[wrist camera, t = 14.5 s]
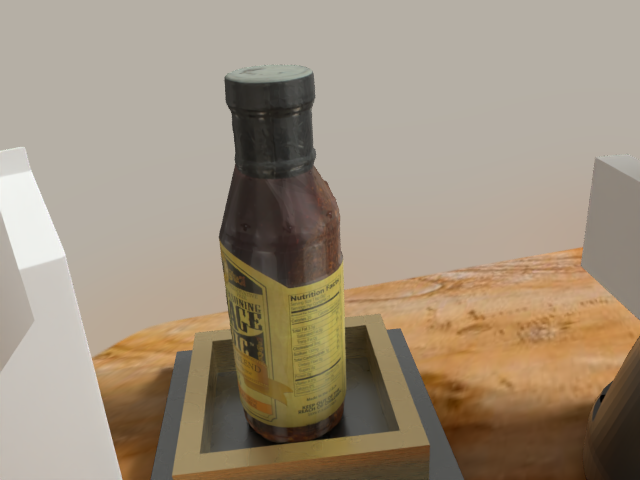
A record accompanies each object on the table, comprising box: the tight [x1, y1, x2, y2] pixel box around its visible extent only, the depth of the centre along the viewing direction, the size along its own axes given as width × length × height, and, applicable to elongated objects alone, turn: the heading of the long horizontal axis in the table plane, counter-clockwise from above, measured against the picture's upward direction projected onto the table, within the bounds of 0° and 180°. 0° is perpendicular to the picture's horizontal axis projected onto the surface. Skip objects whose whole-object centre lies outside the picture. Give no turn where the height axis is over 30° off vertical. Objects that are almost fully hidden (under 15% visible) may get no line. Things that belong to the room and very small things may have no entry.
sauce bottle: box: [219, 65, 346, 443], centre depth 31 cm, size 6×6×20 cm
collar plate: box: [151, 314, 464, 480], centre depth 35 cm, size 16×16×4 cm
